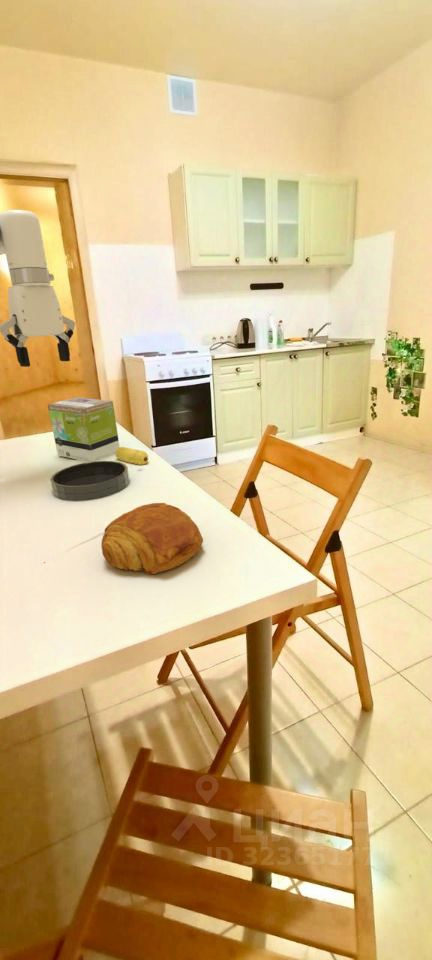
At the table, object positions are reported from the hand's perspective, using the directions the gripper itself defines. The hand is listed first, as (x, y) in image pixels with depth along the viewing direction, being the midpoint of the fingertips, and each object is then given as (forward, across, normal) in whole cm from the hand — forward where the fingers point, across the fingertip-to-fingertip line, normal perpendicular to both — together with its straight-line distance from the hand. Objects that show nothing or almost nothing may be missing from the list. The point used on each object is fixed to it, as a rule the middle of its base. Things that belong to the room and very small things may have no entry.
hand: (45, 363), depth 99 cm
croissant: (+26, +14, +47) cm, 56 cm away
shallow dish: (+26, +2, +14) cm, 30 cm away
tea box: (+26, -12, -8) cm, 30 cm away
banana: (+25, -13, +8) cm, 30 cm away
